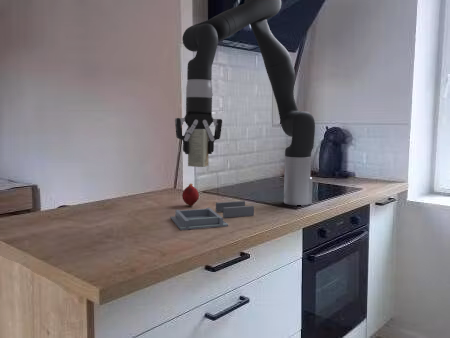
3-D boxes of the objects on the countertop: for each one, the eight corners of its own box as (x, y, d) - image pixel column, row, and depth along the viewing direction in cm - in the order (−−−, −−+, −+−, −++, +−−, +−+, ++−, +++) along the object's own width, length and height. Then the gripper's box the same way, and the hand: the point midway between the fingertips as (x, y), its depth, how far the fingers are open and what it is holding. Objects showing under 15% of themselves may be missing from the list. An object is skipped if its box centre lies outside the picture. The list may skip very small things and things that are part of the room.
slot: (243, 209, 140) (243, 200, 139) (253, 215, 131) (253, 206, 131) (215, 211, 136) (215, 202, 136) (224, 217, 128) (224, 208, 128)
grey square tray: (213, 214, 132) (213, 206, 131) (228, 226, 118) (228, 217, 118) (170, 218, 127) (170, 209, 127) (180, 230, 114) (180, 220, 114)
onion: (196, 208, 141) (196, 185, 140) (180, 207, 142) (180, 184, 141) (200, 204, 147) (200, 182, 146) (185, 203, 148) (185, 182, 147)
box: (208, 166, 123) (210, 128, 121) (203, 167, 119) (204, 129, 117) (192, 164, 124) (193, 128, 123) (186, 166, 120) (187, 128, 119)
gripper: (219, 98, 125) (217, 152, 127) (172, 96, 120) (171, 152, 122) (226, 96, 118) (225, 155, 120) (177, 94, 113) (176, 155, 115)
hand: (198, 153), depth 121 cm, fingers closed on box, 6 cm apart
